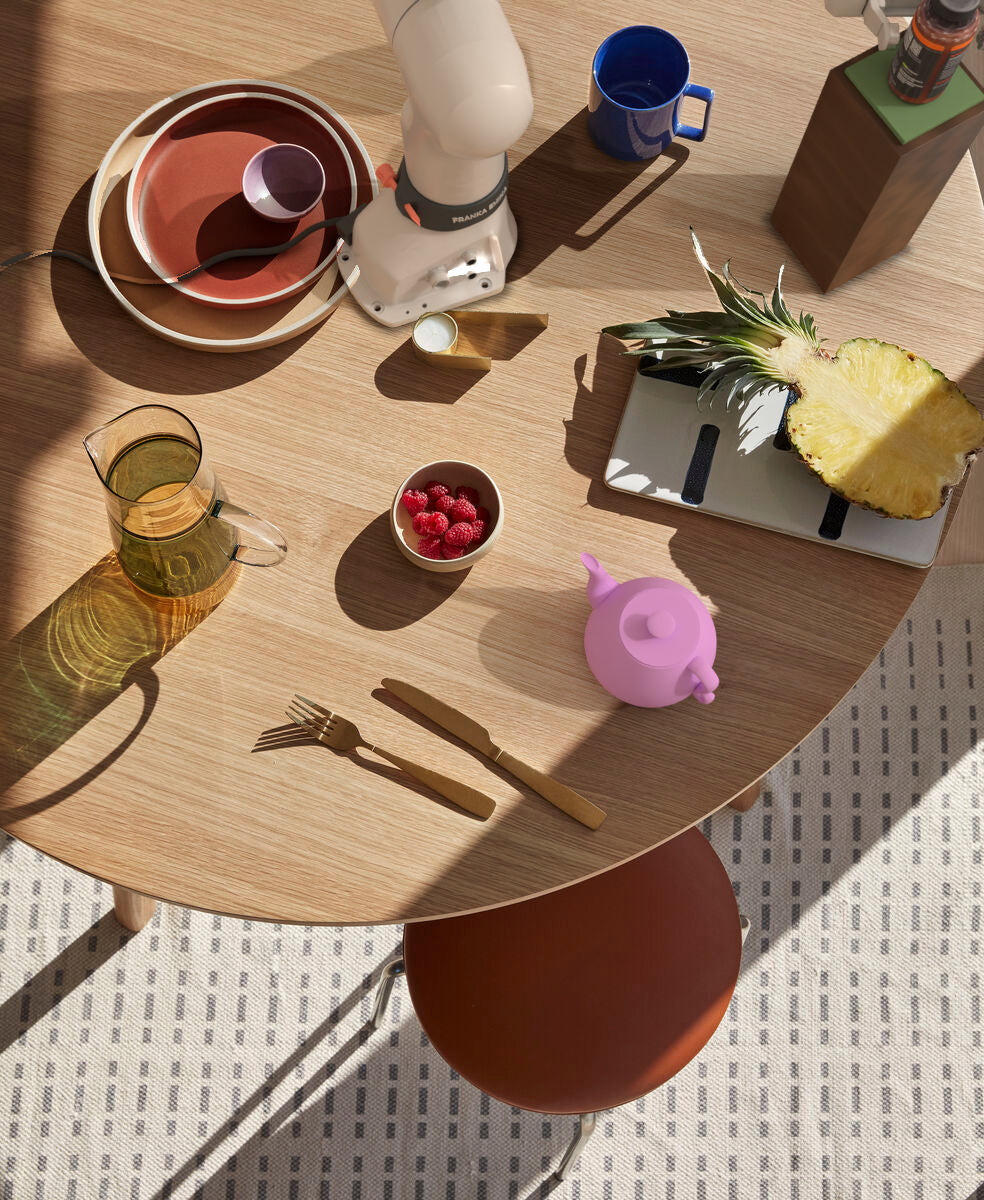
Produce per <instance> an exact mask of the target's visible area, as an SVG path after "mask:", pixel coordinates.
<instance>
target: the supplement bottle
mask: <svg viewBox="0 0 984 1200" xmlns="http://www.w3.org/2000/svg"><path fill="white" fill-rule="evenodd" d="M980 1H981V0H922V1H921V3H920V4H919V6H918V8H917V10H916V12H915V14H914V16H913V17H911V21H910V22H909V25H908V26H907V28H908V29H907V28H906V29H907V31H906V33H905V35H904V38H903V40H902V42H901V44H900V46H899V48H898V50H897V52H896V55H895V57H894V59H893V61H892V63H891V66H890V68H889V71H888V83H889V86H890V88H891V90H892V91H893V93H894V94H895V95H896V96H898V97H899V98H900V99H902V100H904V101H906V102H909V103H914V104H925V103H928V102H931V101H933V100H935V99H937V98H938V97H939V96H940V95H941V94H942V93H943V92H944V90H945V88H946V87H947V86H948V84H949V82H950V80H951V78H952V76H953V74H954V72H955V71H956V69H957V67H958V65H959V63H960V61H962V60H963V57H964V56H965V54H966V52H967V50H968V48H969V47H970V45H971V43H972V41H973V39H974V37H975V36H976V35H977V33H978V32H977V31H978V29H979V26H980V20H981V17H980V14H979V11H978V8H977V7H978V5H979V4H980Z"/></svg>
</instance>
